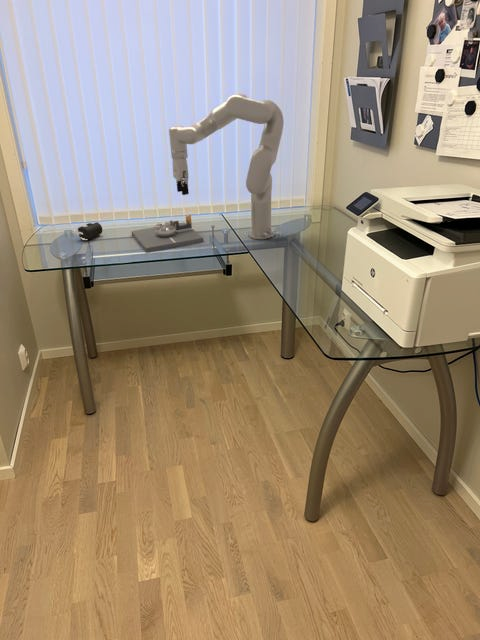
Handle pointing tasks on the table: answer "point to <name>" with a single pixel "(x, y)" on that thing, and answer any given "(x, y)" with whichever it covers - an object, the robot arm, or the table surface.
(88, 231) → the end cap
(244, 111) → the robot arm
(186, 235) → the grey square base plate
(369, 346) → the table surface
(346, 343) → the table surface
